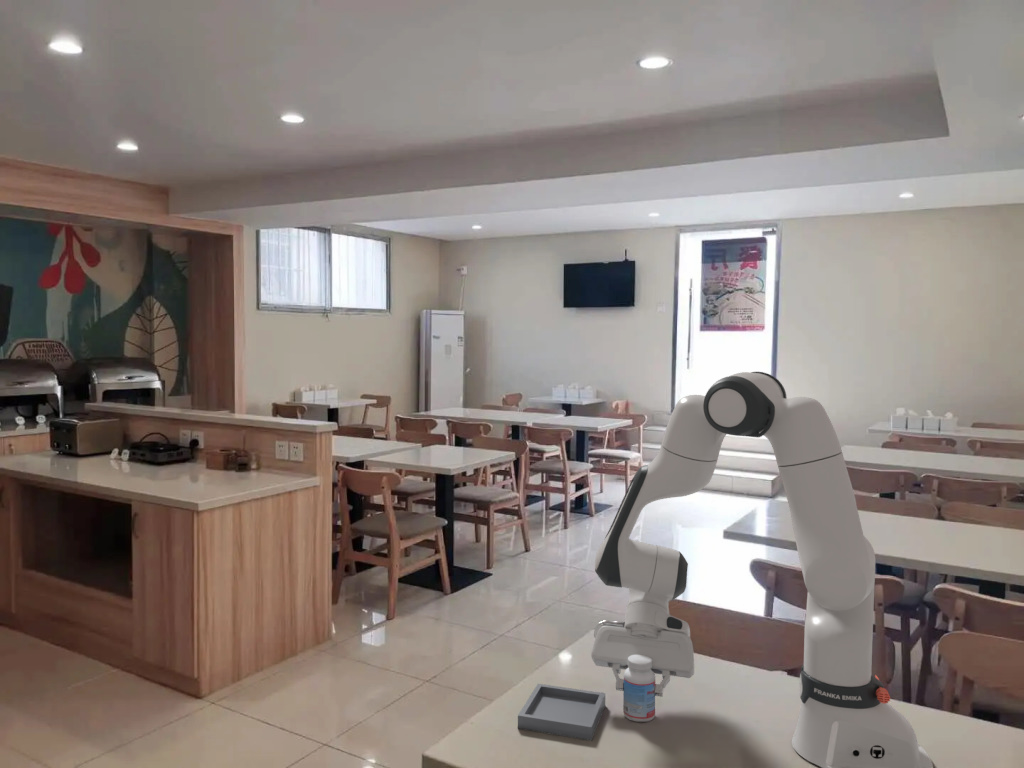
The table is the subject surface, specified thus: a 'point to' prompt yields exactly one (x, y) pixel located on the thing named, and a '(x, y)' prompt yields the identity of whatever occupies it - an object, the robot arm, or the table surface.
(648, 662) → the pill bottle
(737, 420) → the robot arm
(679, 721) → the table surface
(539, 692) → the tray
